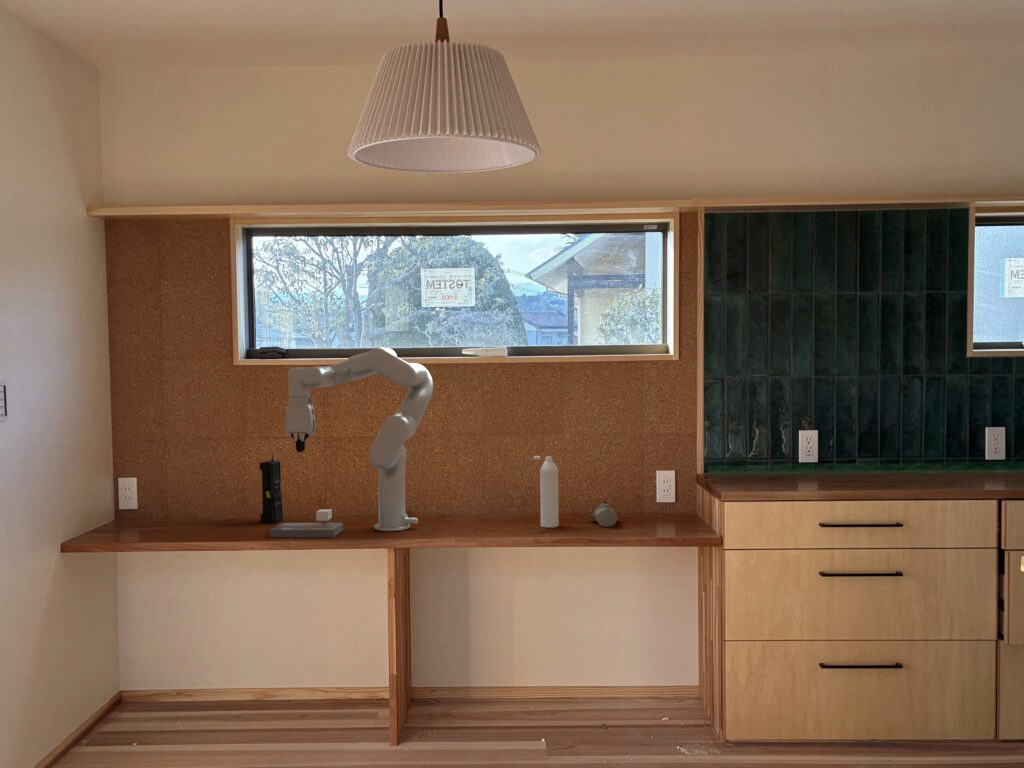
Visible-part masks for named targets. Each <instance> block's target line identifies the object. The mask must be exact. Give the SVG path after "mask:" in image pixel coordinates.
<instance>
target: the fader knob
mask: <svg viewBox="0 0 1024 768" xmlns="http://www.w3.org/2000/svg"><path fill="white" fill-rule="evenodd" d="M332 512H333V509H331V508H329V509H327V508H321V509H318V510H317V511H316V513H315V517H316V518H315V519H316V521H321V523H322V525H327V524H326V523H327V522H328V521H330V520H331V519H332V518H333V513H332Z"/></svg>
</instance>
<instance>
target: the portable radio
mask: <svg viewBox="0 0 1024 768" xmlns="http://www.w3.org/2000/svg"><path fill="white" fill-rule="evenodd" d="M259 470H260V471H261V485H262V486H261V489H262V490H261V491H262V492H261V495H262V497H261V498H262V499H261V500H262V512H261V514H260V523H262V524H276V523H278V522H281V521H283V519H284V515H283V514H284V513H283V512H284V511H283V499H282V498H283V496H282V491H281V490H282V487H281V481H282V479H281V478H282V477H281V462H280V460H274V455H273V453H272V454H271V460H267V461H263V462H259Z"/></svg>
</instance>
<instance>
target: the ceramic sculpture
mask: <svg viewBox="0 0 1024 768" xmlns="http://www.w3.org/2000/svg"><path fill="white" fill-rule="evenodd" d="M618 515H619V514H618V513H617V512H615V510H614V509H613V507H612V506H611V504H610V503H608V501H606V500H605V501H603V502H602V503H600V504H598V505H597V506H596V507H595V510H594V512H593V513H589V514H588V519H589V520H591V521H593V522H596V521H597V523H598V524H599V526H601V527H604V528H609V527H613V526H614V525H615V524H616V523H617V520H618Z"/></svg>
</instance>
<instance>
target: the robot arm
mask: <svg viewBox="0 0 1024 768" xmlns="http://www.w3.org/2000/svg"><path fill="white" fill-rule="evenodd" d="M287 373H288V377H287V379H288V405H286V411H285V417H284V418H285V421H284V430H285V433H284V435H285V436H286V437H291V438H292V439H293V440H294V442H295V450H296V453H303V452H304V451H306V440H307V439H308V438H309V437H312V436H315V435H316V432H315V431H316V418H315V417H316V416H315V409H314V405H313V404H311V403H314V402H315V398H314V397H312V396H311V388H329V387H332V386H337V385H340V384H344V383H347V382H350V381H351V382H352V381H356V380H360V379H363V378H366V377H371V376H375V375H380V376H381V377H383V378H385V379H387V380H388V381H390V382H392V383H394V384H396V385H398V386H399V387H402V388H409V389H408V391H407V393H406V395H405V397H404V398H403V400H402V403H401V405H400V407H399V408H398V411H397V412H396V413H394V414H392V415H390V416H388V417H387V418H386V419H385V420H384V422H383V424H382V425H381V427H380V429H379V432H378V433H377V435H376V437H375V439H374V442H373V444H372V446H371V448H370V452H369V460H370V463H371V464H372V466H373V467H375V469H378V477H377V481H378V482H377V489H378V490H377V494H378V497H377V499H378V500H377V501H378V523H376V524H374V527H373V528H374V530H376V531H380V532H397V531H398V532H399V531H405V530H408V529H409V528H410V527H411V524H418V522H419V519H418V517H414V516H413V517H409V516H408V513H406V463H407V449H406V447H405V446H404V444H405V443H406V442H405V441H406V440H408V439H410V438H412V437H413V436H414V435H415V433H416V431H417V428H418V427H419V424H420V423H421V421H422V418H423V416H424V415H425V412H426V409H427V407H428V406H429V405H428V404H429V403H430V400H431V399H432V397H433V396H432V395H433V393H434V392H433V391H434V381H433V377H432V375H431V373H430V372H429V370H428V369H427V368H426V367H425V366H424V365H422V364H420V363H417V362H407V361H406V360H403V359H401V358H400V357H398V355H397V352H396V351H395V350H394V349H392V348H390V347H383V346H381V347H380V346H377V347H374V348H372V349H371V350H369V351H365V352H363V353H359V354H354V355H352V356H349V358H348V359H346V360H344V361H342V362H338V363H334V364H331V365H326V366H312V367H302V366H301V367H291V368H289V369H288V372H287ZM300 434H301V435H300Z"/></svg>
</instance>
